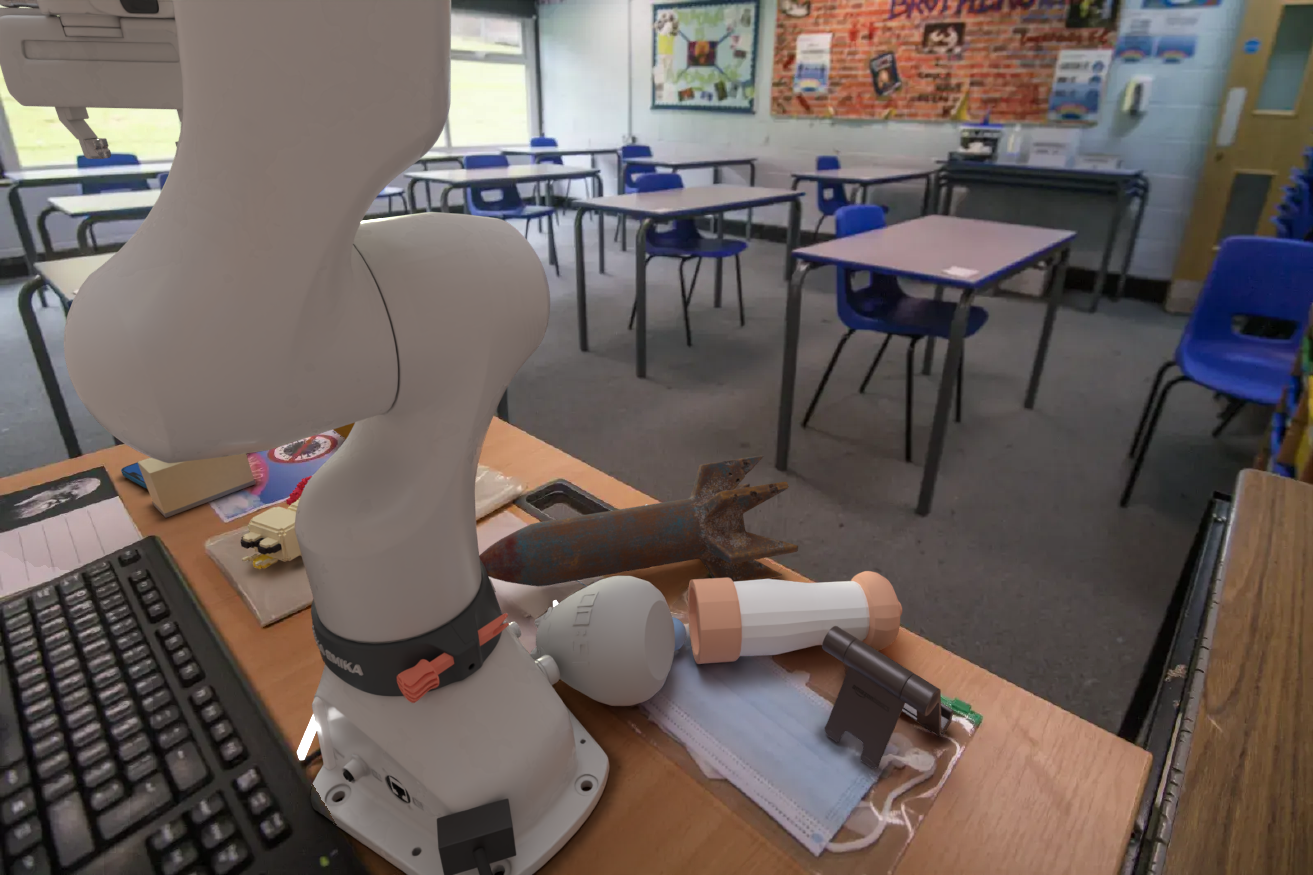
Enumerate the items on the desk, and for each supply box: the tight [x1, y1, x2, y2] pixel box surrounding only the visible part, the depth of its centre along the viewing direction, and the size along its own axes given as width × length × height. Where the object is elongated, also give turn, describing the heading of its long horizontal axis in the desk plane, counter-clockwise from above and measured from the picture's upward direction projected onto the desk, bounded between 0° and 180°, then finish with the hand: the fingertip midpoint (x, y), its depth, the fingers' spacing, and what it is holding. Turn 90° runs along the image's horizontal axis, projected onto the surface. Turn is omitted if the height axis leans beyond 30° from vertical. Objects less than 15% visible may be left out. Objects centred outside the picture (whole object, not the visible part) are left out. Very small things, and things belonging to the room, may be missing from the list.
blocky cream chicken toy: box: [240, 475, 313, 570], centre depth 80 cm, size 10×9×25 cm
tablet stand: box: [821, 626, 955, 769], centre depth 54 cm, size 9×8×8 cm
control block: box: [137, 453, 256, 518], centre depth 84 cm, size 4×10×6 cm, turn 140°
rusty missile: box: [479, 455, 799, 587], centre depth 69 cm, size 12×12×30 cm
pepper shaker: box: [687, 570, 903, 665], centre depth 63 cm, size 7×7×19 cm
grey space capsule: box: [529, 575, 675, 707], centre depth 58 cm, size 10×10×12 cm
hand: (146, 159), depth 69 cm, fingers open, 8 cm apart
